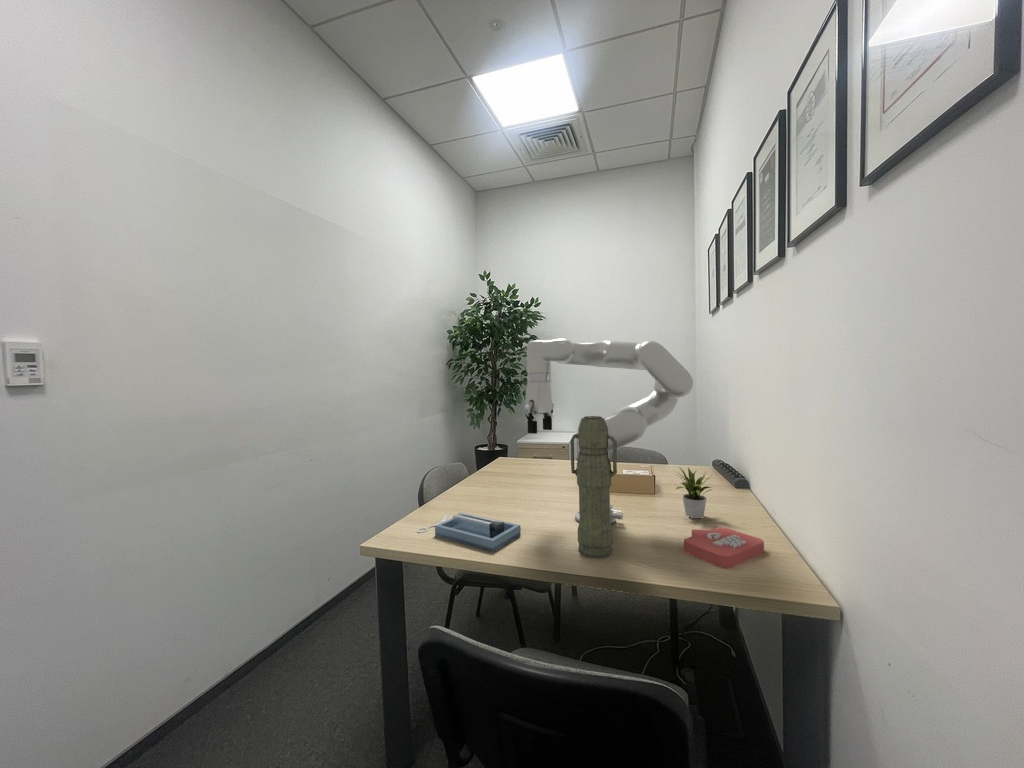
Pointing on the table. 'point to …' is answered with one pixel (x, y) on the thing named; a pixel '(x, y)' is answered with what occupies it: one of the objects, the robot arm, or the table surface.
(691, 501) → the house plant
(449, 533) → the tray
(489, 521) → the two-tone rectangular block
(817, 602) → the table surface
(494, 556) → the table surface
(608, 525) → the thermos
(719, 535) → the plaque
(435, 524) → the scissors
